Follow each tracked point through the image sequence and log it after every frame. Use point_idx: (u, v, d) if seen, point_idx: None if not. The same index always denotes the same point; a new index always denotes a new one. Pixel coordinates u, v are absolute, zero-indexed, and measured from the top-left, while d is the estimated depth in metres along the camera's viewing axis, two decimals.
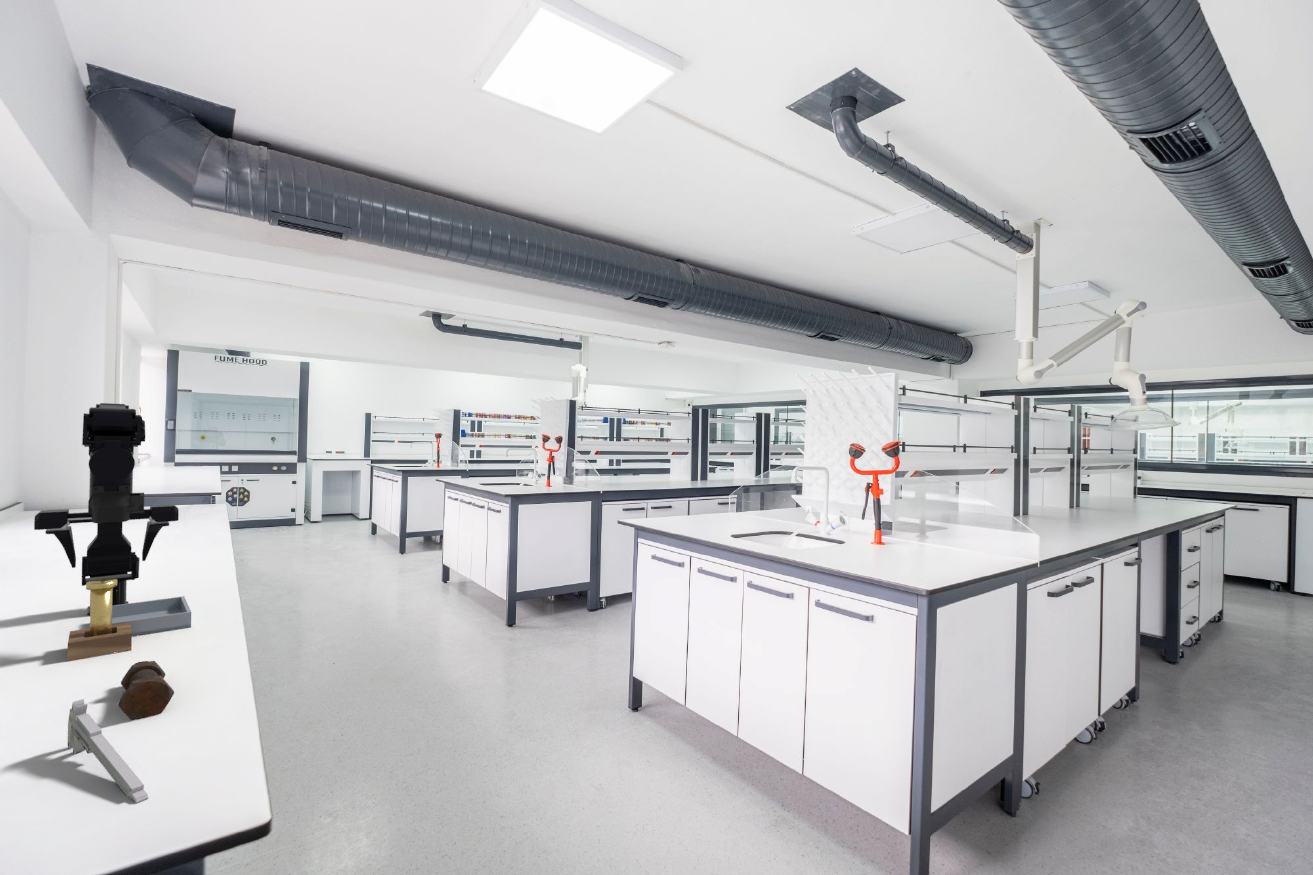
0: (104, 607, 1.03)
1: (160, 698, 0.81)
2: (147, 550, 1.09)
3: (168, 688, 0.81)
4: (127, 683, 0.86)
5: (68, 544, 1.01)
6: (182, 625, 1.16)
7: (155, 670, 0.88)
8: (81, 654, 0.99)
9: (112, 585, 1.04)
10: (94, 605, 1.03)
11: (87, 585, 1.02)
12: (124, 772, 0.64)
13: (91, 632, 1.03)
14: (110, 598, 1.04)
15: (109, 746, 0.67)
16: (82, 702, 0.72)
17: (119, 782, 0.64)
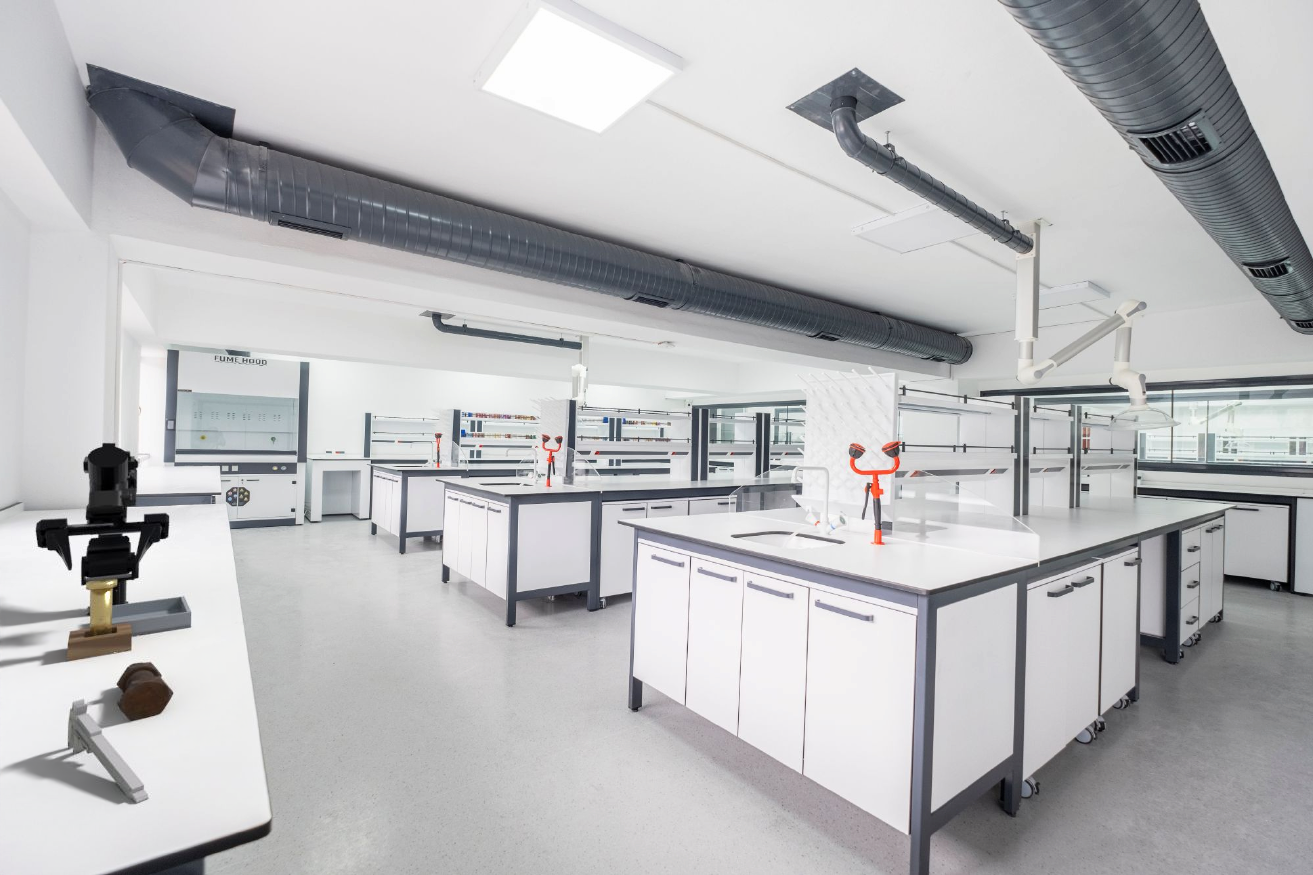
0: (104, 607, 1.03)
1: (159, 698, 0.81)
2: (140, 551, 1.14)
3: (167, 688, 0.81)
4: (123, 684, 0.85)
5: (65, 546, 1.08)
6: (182, 625, 1.16)
7: (152, 671, 0.87)
8: (81, 654, 0.99)
9: (112, 585, 1.04)
10: (94, 605, 1.03)
11: (87, 585, 1.02)
12: (125, 772, 0.64)
13: (91, 632, 1.03)
14: (110, 598, 1.04)
15: (109, 746, 0.67)
16: (82, 702, 0.72)
17: (119, 782, 0.64)
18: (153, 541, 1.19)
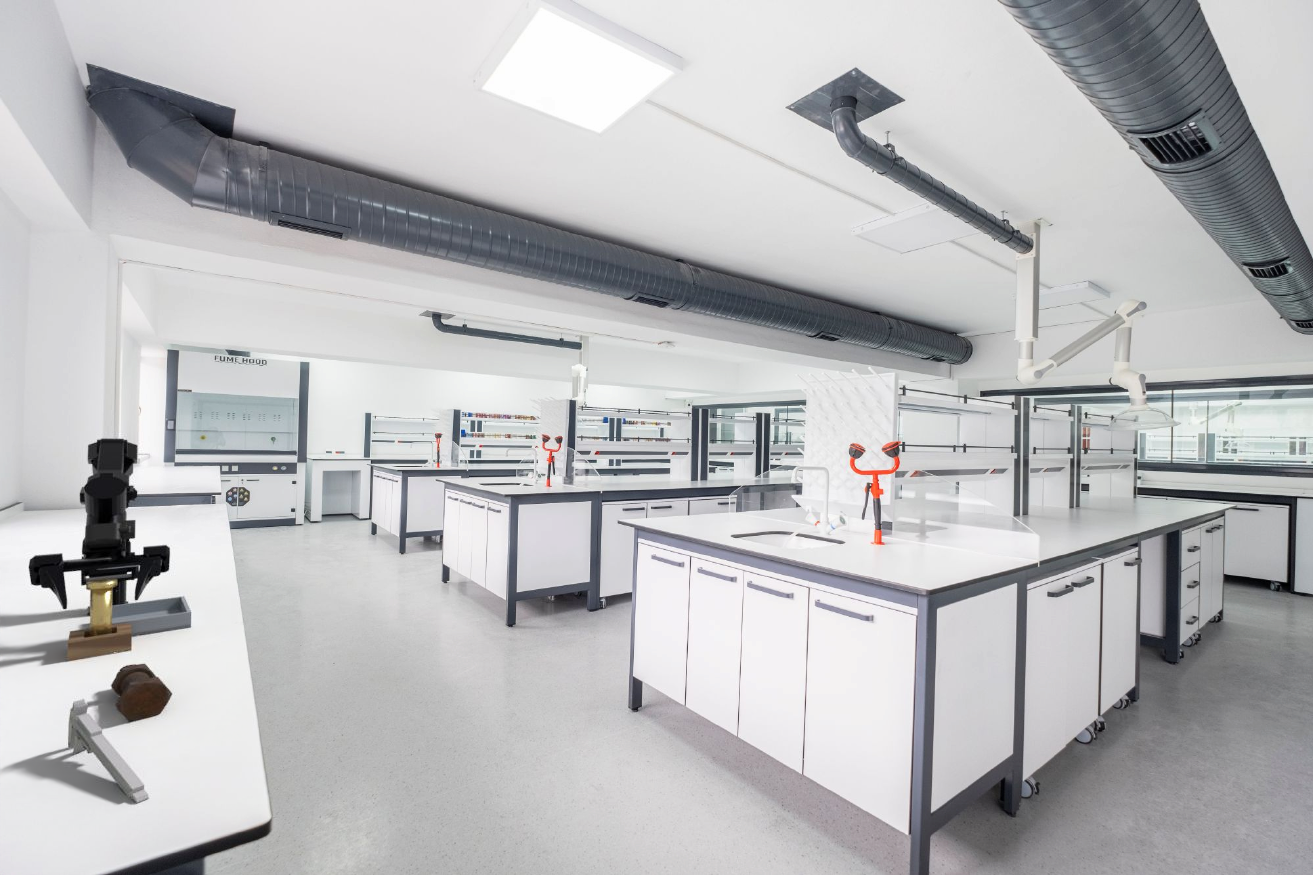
0: (104, 607, 1.03)
1: (158, 699, 0.81)
2: (139, 586, 1.08)
3: (166, 689, 0.81)
4: (118, 686, 0.85)
5: (60, 583, 1.02)
6: (182, 625, 1.16)
7: (146, 673, 0.87)
8: (81, 654, 0.99)
9: (112, 585, 1.04)
10: (94, 605, 1.03)
11: (87, 585, 1.02)
12: (125, 772, 0.64)
13: (91, 632, 1.03)
14: (110, 598, 1.04)
15: (110, 746, 0.67)
16: (83, 702, 0.72)
17: (119, 782, 0.64)
18: (153, 575, 1.13)
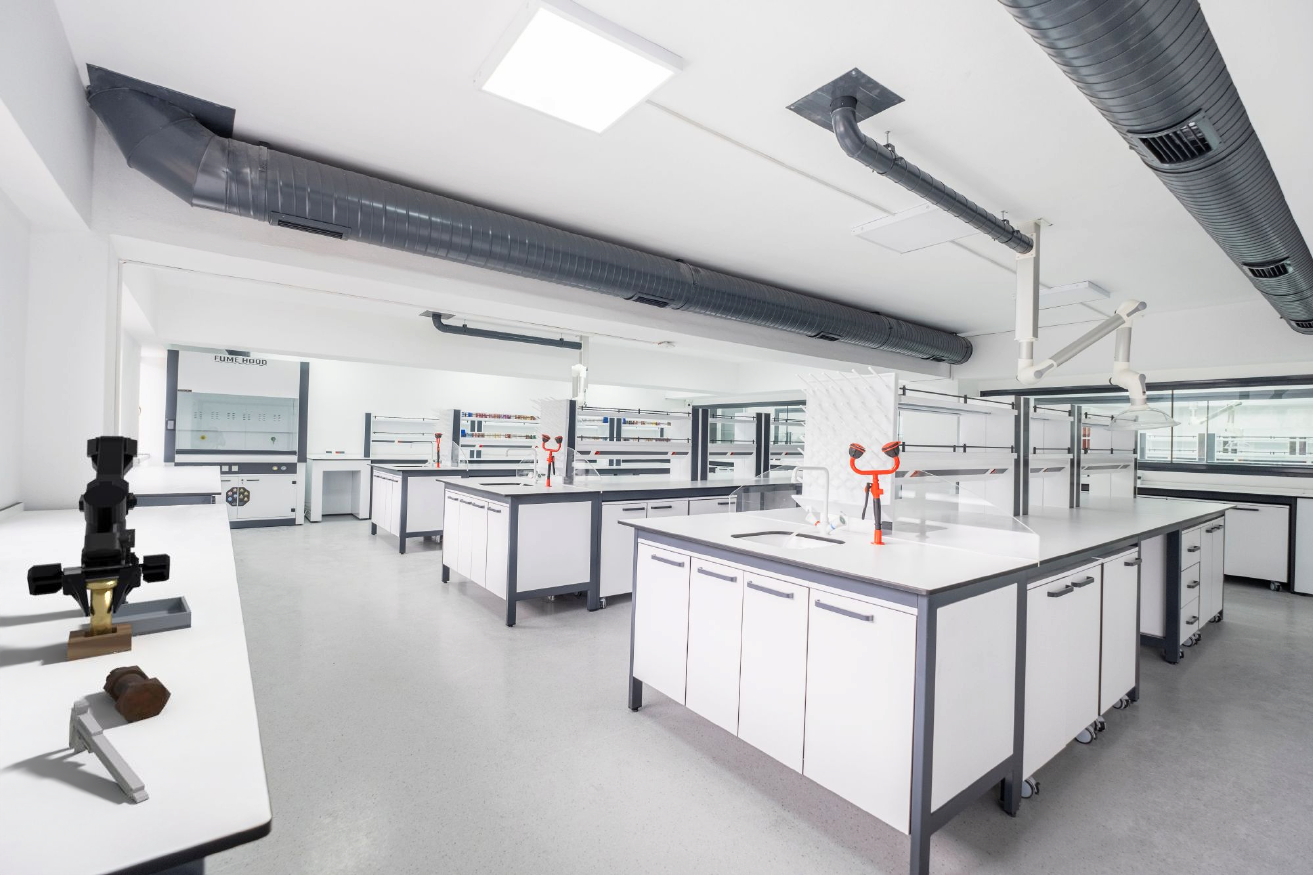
0: (104, 607, 1.03)
1: (158, 699, 0.80)
2: (118, 599, 1.05)
3: (165, 689, 0.81)
4: (111, 689, 0.84)
5: (82, 591, 1.03)
6: (182, 625, 1.16)
7: (140, 674, 0.86)
8: (81, 654, 0.99)
9: (112, 585, 1.04)
10: (94, 605, 1.03)
11: (87, 585, 1.02)
12: (125, 772, 0.64)
13: (91, 632, 1.03)
14: (110, 598, 1.04)
15: (110, 746, 0.67)
16: (84, 702, 0.72)
17: (120, 782, 0.64)
18: (133, 586, 1.10)
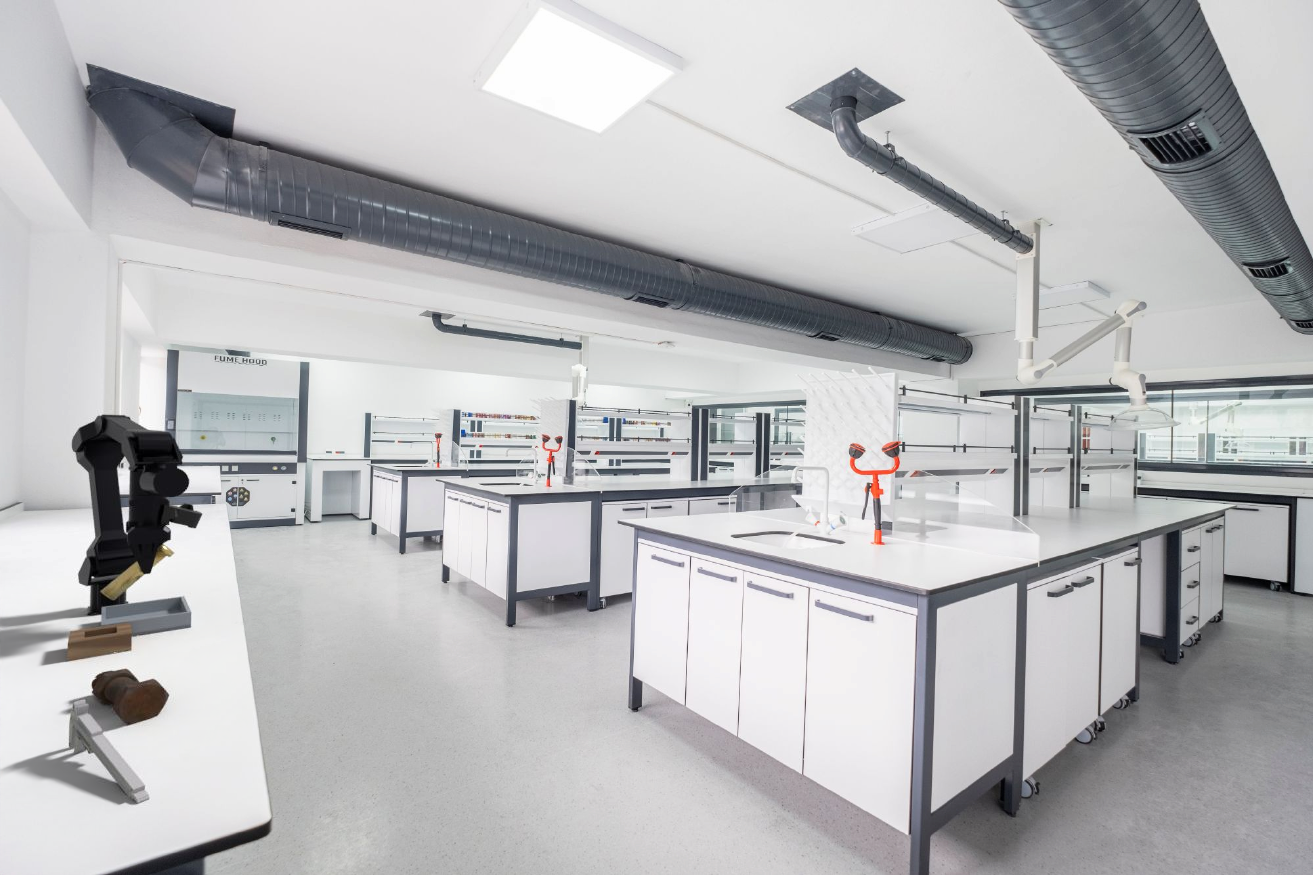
0: None
1: (156, 701, 0.80)
2: None
3: (164, 690, 0.81)
4: (101, 692, 0.82)
5: None
6: (182, 625, 1.16)
7: (130, 677, 0.85)
8: (81, 654, 0.99)
9: None
10: None
11: (169, 552, 1.18)
12: (126, 772, 0.64)
13: (128, 585, 1.15)
14: None
15: (110, 746, 0.67)
16: (84, 702, 0.72)
17: (120, 782, 0.64)
18: None
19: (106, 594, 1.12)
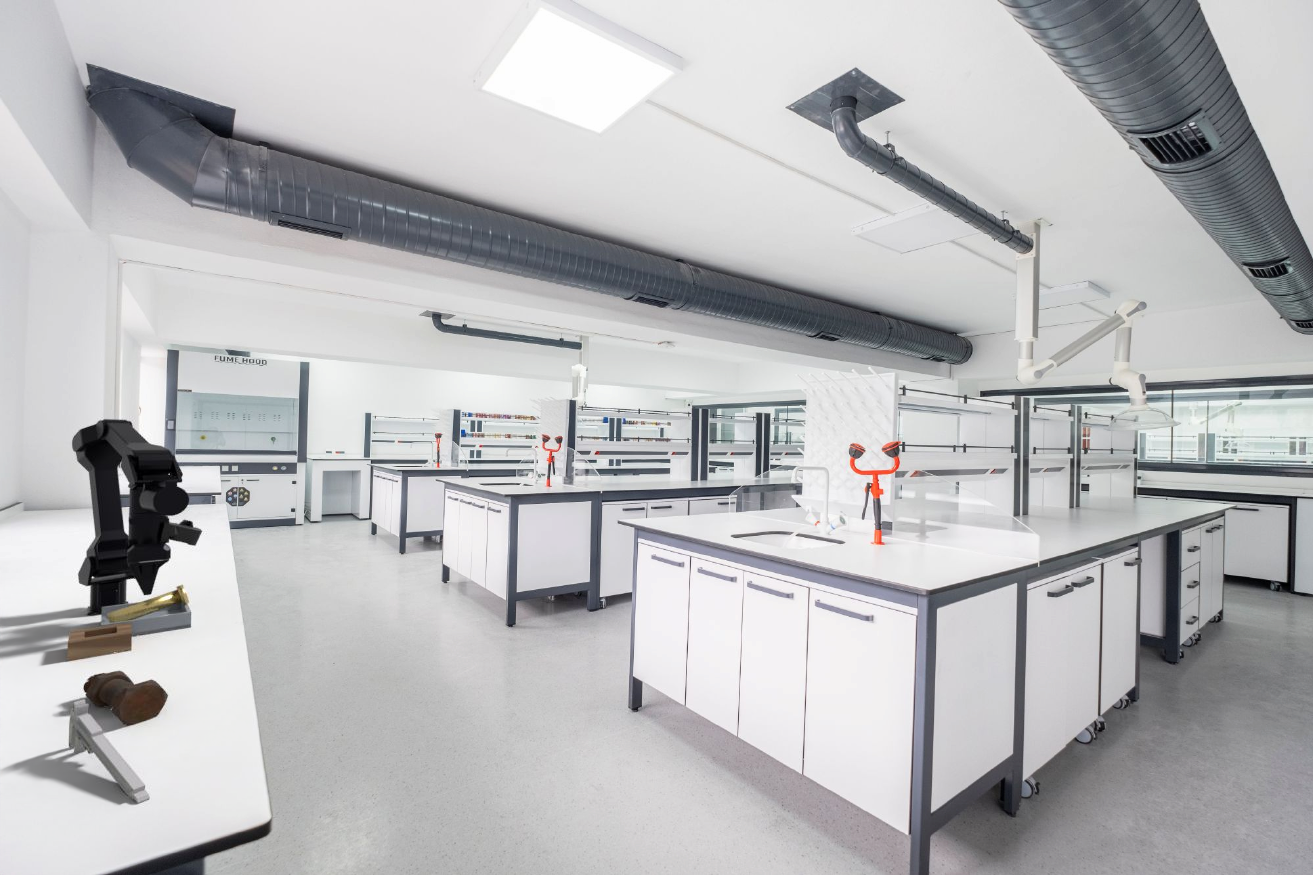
0: None
1: (156, 701, 0.80)
2: None
3: (163, 691, 0.81)
4: (96, 695, 0.82)
5: (156, 572, 1.14)
6: (182, 625, 1.16)
7: (124, 679, 0.84)
8: (81, 654, 0.99)
9: None
10: (164, 607, 1.19)
11: (186, 599, 1.20)
12: (126, 772, 0.64)
13: (133, 617, 1.15)
14: None
15: (110, 746, 0.67)
16: (83, 702, 0.72)
17: (120, 782, 0.64)
18: None
19: (110, 619, 1.13)
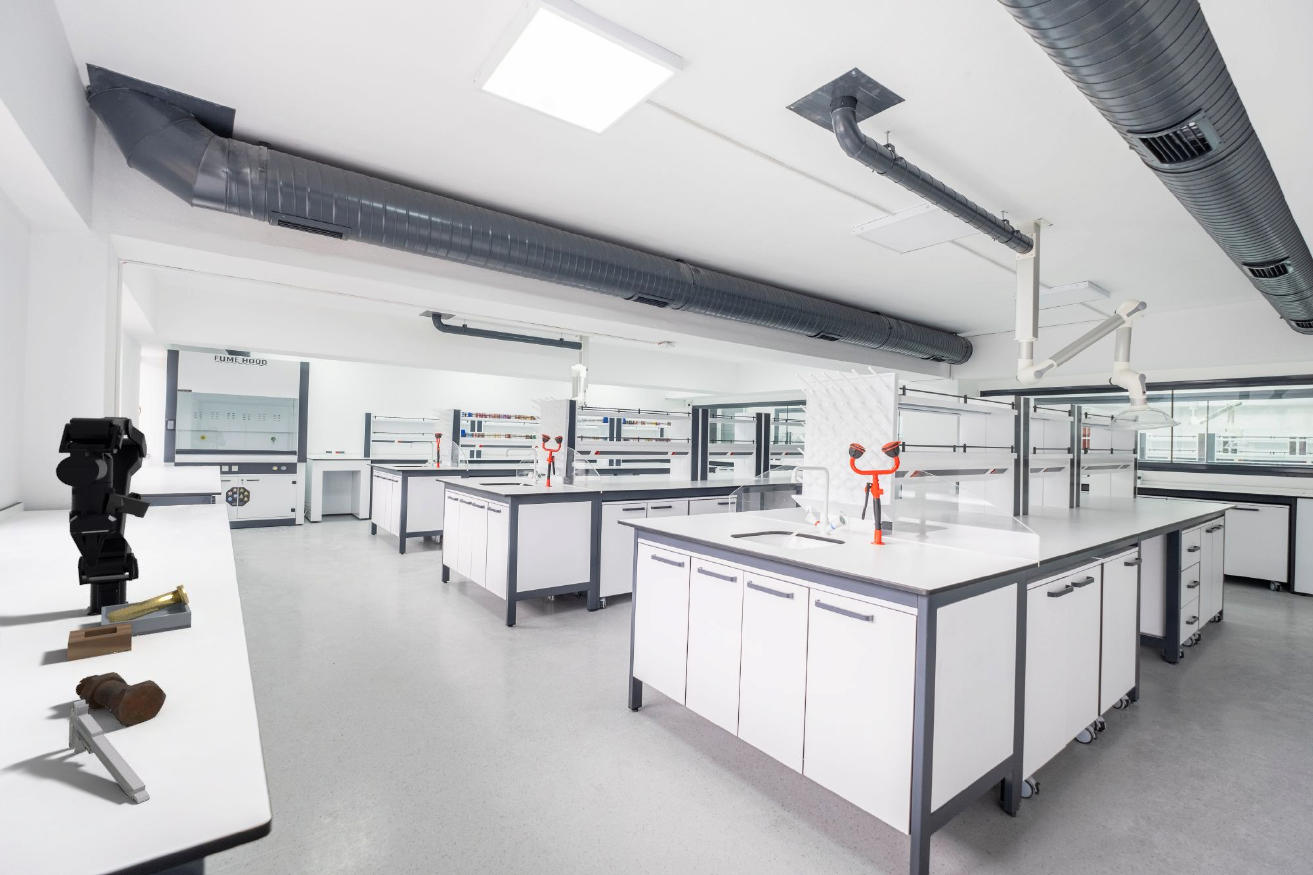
0: None
1: (154, 702, 0.80)
2: None
3: (162, 691, 0.80)
4: (90, 697, 0.81)
5: None
6: (182, 625, 1.16)
7: (119, 681, 0.84)
8: (81, 654, 0.99)
9: None
10: (164, 607, 1.19)
11: (186, 599, 1.20)
12: (126, 772, 0.64)
13: (133, 617, 1.15)
14: None
15: (110, 746, 0.67)
16: (84, 702, 0.72)
17: (121, 782, 0.64)
18: None
19: (110, 619, 1.13)
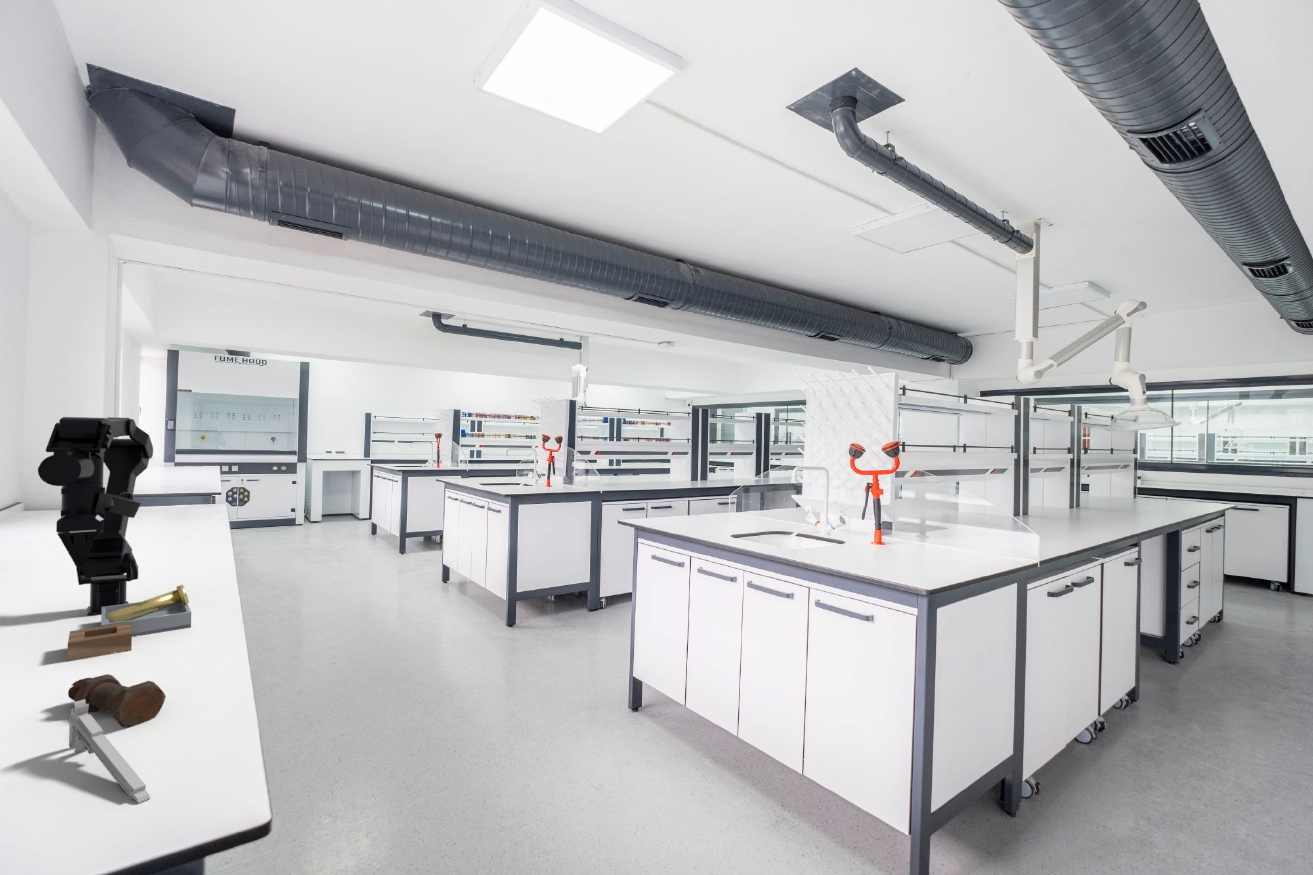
0: None
1: (154, 702, 0.80)
2: None
3: (161, 692, 0.80)
4: (86, 699, 0.80)
5: None
6: (182, 625, 1.16)
7: (114, 683, 0.83)
8: (81, 654, 0.99)
9: None
10: (164, 607, 1.19)
11: (186, 599, 1.20)
12: (126, 772, 0.64)
13: (133, 617, 1.15)
14: None
15: (111, 746, 0.67)
16: (84, 702, 0.72)
17: (121, 782, 0.64)
18: None
19: (110, 619, 1.13)
